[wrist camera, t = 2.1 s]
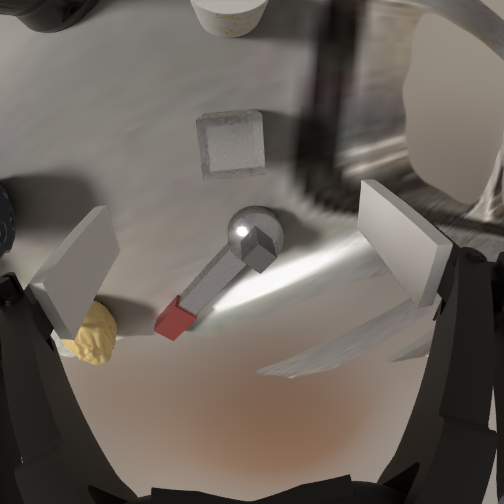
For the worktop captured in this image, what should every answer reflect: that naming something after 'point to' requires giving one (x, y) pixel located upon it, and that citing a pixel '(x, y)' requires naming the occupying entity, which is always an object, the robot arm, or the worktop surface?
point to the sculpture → (94, 336)
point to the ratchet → (226, 266)
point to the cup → (229, 16)
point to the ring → (6, 223)
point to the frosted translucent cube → (231, 144)
